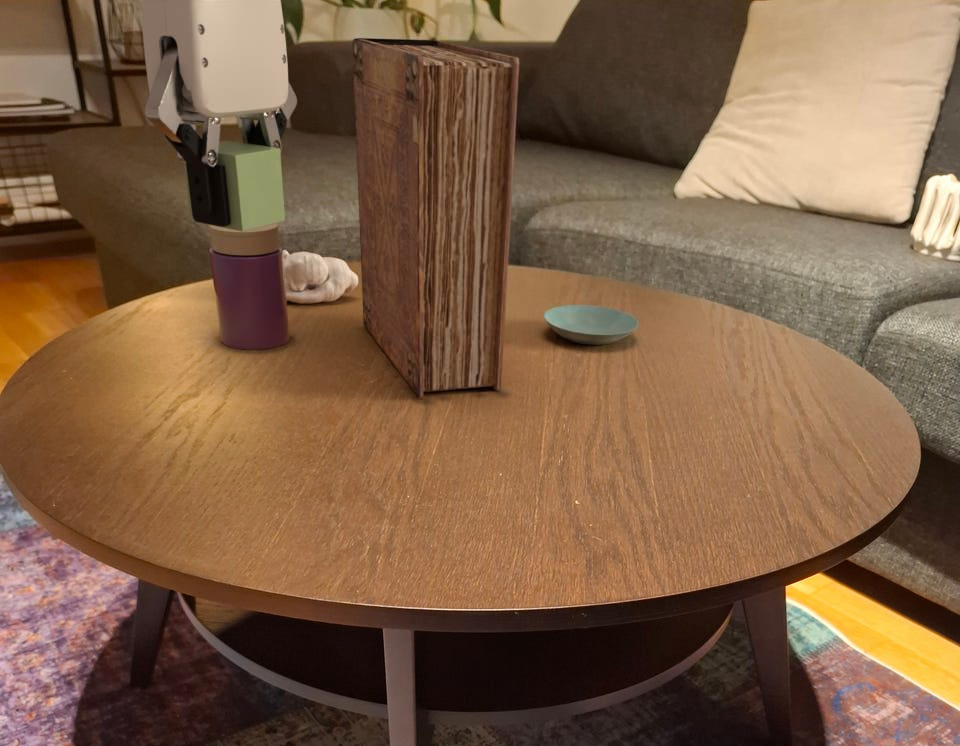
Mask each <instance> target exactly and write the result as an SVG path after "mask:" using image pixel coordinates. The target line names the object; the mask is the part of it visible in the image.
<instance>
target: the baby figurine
mask: <svg viewBox="0 0 960 746" xmlns="http://www.w3.org/2000/svg"><path fill="white" fill-rule="evenodd" d="M282 250H283V262H284V274H285V286H286V298H287V302H288V301H289V302H291V303H295V304H303V305H304V304H316V303H321V302H324V303H330V302H334V301H336V300H338V299H339V298H340V297H341V296H343V295H345V294H349V293H350V292H352V291H353V290H354V289H355V288H357V286H358V285H359V277H358V274H356V273H355V272H354V271H352V269H351V268H350V267H349V265H348V264H347V262H346V261H345V260H343V259H341V258H337V257H331V256H324V257H322V255H320V254H318V253H312V252H309V251H298V252H293V253H289V251H287V249H282Z"/></svg>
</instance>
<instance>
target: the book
mask: <svg viewBox="0 0 960 746" xmlns="http://www.w3.org/2000/svg"><path fill="white" fill-rule="evenodd" d="M351 42H352V65H353V66H352V67H353V69H352V70H353V90H354V91H353V92H354V93H353V94H354V114H355V115H354V116H355V117H354V119H355V120H354V121H355V143H356V166H357V168H356V169H357V170H356V171H357V194H358V197H357V198H358V217H359V218H358V220H359V221H358V222H359V246H360V269H361V270H360V271H361V292H362V293H361V295H362V296H361V297H362V320H363V321H362V322H363V327H364V328H365V329H366V331H367V332H368V333H369V335H370V336H371V337H372V339H373V340H374V342H375V343H376V344H377V345H378V347H379V348H380V349H381V351H382V352H383V353H384V355H385V356H386V358H387V359H388V360H389V361H390V363H391V364H392V366H393V367H394V368H395V370H396V372H398V373H399V375H400V376H401V378H402V379H403V380H404V382H405V383H406V385H408V387H409V388H410V390H411V391H412V392H413V394H414V395H415V396H416V398H417V399H418V400H422V399H423V398H424V393H429V392H439V391H440V392H441V391H451V390H462V389H474V388H485V387H491V388H493V390H494V391H496V392H498V391H501V390H502V379H503V363H504V362H503V361H504V343H505V329H506V328H505V327H506V309H507V308H506V307H507V291H508V275H509V274H508V272H509V257H510V254H509V253H510V240H511V239H510V237H511V220H512V219H511V217H512V201H513V184H514V183H513V182H514V167H515V148H516V147H515V146H516V129H517V112H518V95H519V78H520V77H519V76H520V75H519V74H520V58H519V57H517V56H511V55H506V54H502V53H498V52H492V51H488V50H483V49H479V48H473V47H468V46H464V45H458V44H453V43H448V42H444V41H440V40H432V39H406V38H405V39H403V38H373V37H372V38H371V37H370V38H368V37H355V38H353V40H352V41H351Z"/></svg>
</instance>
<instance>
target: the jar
mask: <svg viewBox="0 0 960 746" xmlns="http://www.w3.org/2000/svg"><path fill="white" fill-rule="evenodd" d="M283 250H284V249H283V247H281V246H280V248H279V249H278V250H277V251H275V252H272V253H267V254H261V255H229V254H223V253H219V252H216V251H214V250H213V249H212V248H211V247H210V248H209V251H208V252H209V258H210V267H211V274H212V282H213V283H212V284H213V290H214V298H215V306H216V315H217V321H218V329H219V330H218V331H219V337H220V341H221V343H222V344H223V345H224V346H227V347H230V348H234V349H239V350H247V351H248V350H249V351H251V350H252V351H256V350H257V351H258V350H259V351H260V350H269V349H274V348H278V347H280V346H284V345H286V344H287V343H288V342H290V339H291V338H290V324H289V313H288V312H289V310H288V300H287V298H286V286H285V274H284V262H283Z"/></svg>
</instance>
